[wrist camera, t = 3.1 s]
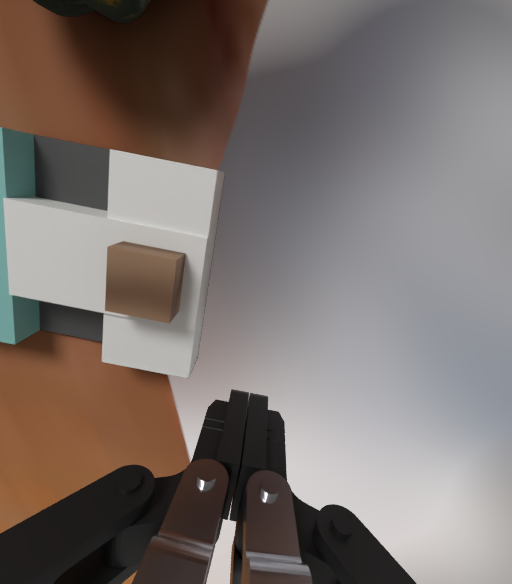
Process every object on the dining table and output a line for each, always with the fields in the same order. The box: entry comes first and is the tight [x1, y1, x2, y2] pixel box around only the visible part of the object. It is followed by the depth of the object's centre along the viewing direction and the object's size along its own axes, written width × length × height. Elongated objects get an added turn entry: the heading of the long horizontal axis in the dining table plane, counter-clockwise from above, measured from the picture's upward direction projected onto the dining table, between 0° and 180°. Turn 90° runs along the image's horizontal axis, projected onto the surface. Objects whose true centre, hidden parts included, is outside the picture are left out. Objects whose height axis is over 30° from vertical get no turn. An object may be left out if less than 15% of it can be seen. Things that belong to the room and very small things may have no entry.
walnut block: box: [105, 241, 186, 324], centre depth 25 cm, size 5×5×2 cm
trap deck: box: [0, 127, 225, 378], centre depth 28 cm, size 18×25×4 cm
